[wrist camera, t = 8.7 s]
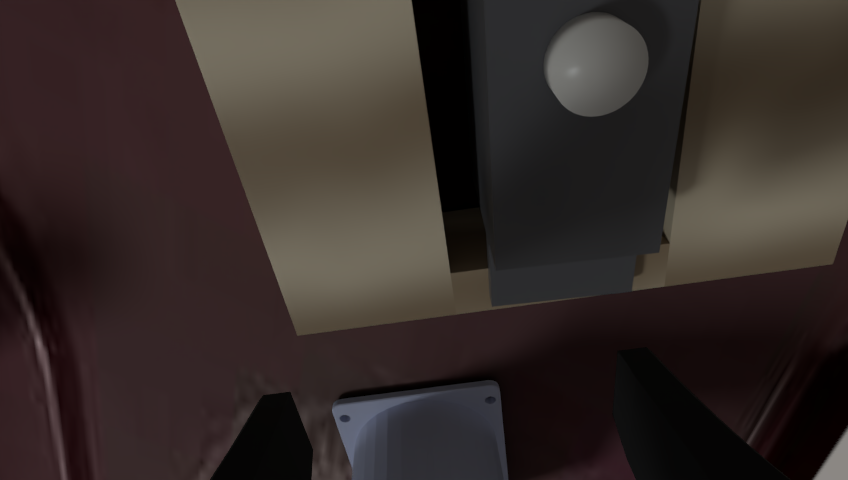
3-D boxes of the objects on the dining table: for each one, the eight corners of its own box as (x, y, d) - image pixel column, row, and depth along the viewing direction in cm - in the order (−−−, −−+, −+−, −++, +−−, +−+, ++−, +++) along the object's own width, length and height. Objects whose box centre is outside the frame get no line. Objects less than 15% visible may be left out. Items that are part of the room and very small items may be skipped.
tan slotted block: (766, 205, 21) (832, 263, 18) (312, 268, 22) (297, 335, 19) (867, -226, 14) (1007, -258, 11) (192, -111, 15) (135, -108, 12)
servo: (589, 217, 21) (659, 339, 16) (475, 230, 22) (502, 356, 16) (616, -160, 15) (751, -185, 9) (450, -139, 15) (483, -150, 9)
